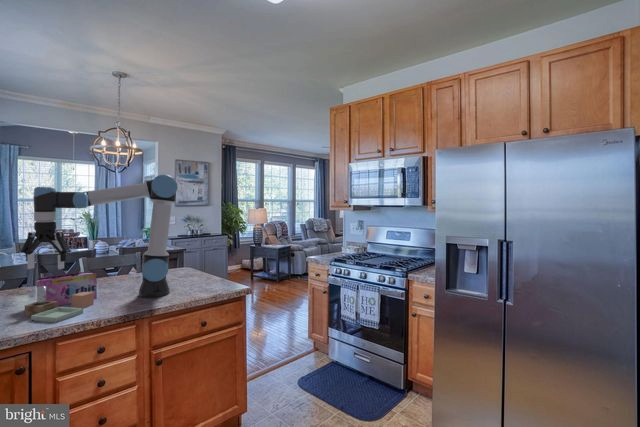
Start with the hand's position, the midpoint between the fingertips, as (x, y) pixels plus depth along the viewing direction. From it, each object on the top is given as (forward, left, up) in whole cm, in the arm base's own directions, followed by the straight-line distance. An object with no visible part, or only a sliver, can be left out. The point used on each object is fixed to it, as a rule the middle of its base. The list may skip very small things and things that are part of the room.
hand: (46, 268), depth 147 cm
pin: (+1, +1, -20) cm, 20 cm away
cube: (-7, -12, -20) cm, 24 cm away
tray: (-10, +3, -20) cm, 23 cm away
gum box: (+6, -15, -20) cm, 26 cm away
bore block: (+1, +1, -20) cm, 20 cm away
